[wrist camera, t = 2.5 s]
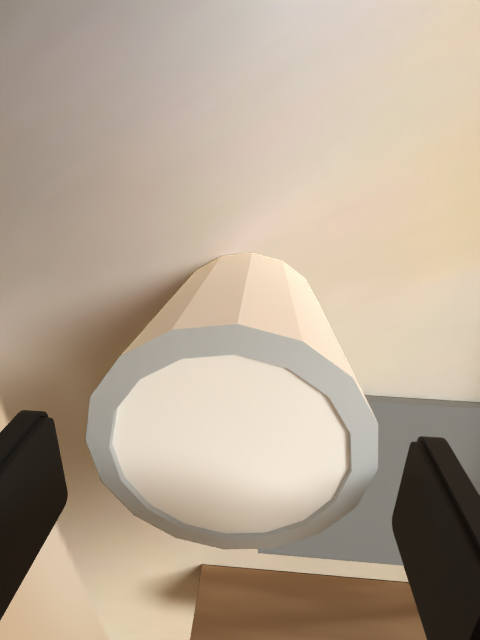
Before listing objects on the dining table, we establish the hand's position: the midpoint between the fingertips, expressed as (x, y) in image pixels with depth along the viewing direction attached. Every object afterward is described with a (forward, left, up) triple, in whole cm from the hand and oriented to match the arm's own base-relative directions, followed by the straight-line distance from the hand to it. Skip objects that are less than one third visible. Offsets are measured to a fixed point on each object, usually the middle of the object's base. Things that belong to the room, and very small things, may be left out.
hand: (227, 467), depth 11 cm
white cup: (-1, 0, -6) cm, 6 cm away
